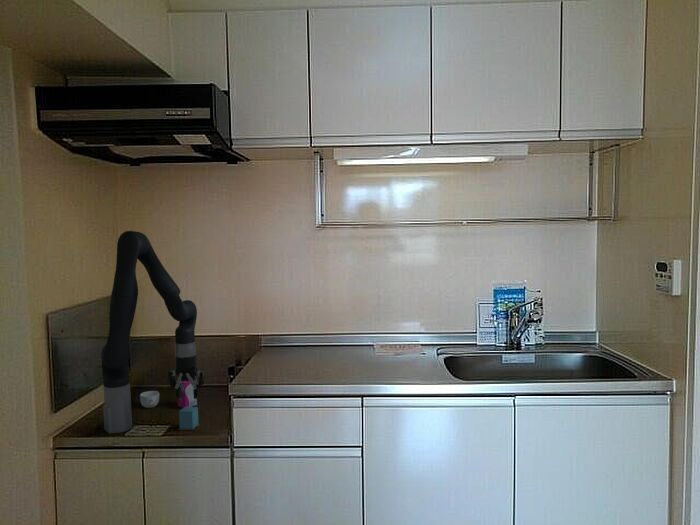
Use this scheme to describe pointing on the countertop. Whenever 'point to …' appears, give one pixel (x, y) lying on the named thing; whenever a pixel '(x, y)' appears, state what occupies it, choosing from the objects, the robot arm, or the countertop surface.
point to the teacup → (149, 399)
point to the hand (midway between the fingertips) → (187, 397)
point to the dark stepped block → (189, 429)
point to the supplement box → (187, 395)
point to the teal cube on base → (188, 417)
